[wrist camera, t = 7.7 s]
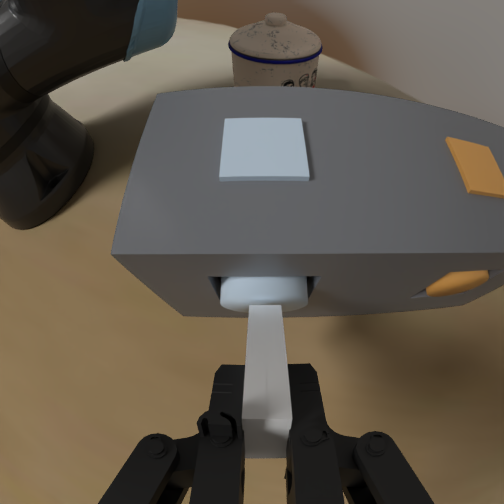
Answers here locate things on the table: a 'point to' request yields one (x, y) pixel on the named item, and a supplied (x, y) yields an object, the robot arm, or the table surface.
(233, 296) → the pale blue button
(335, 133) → the button console
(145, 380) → the table surface
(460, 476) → the table surface
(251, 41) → the teacup with lid
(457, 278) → the orange button
